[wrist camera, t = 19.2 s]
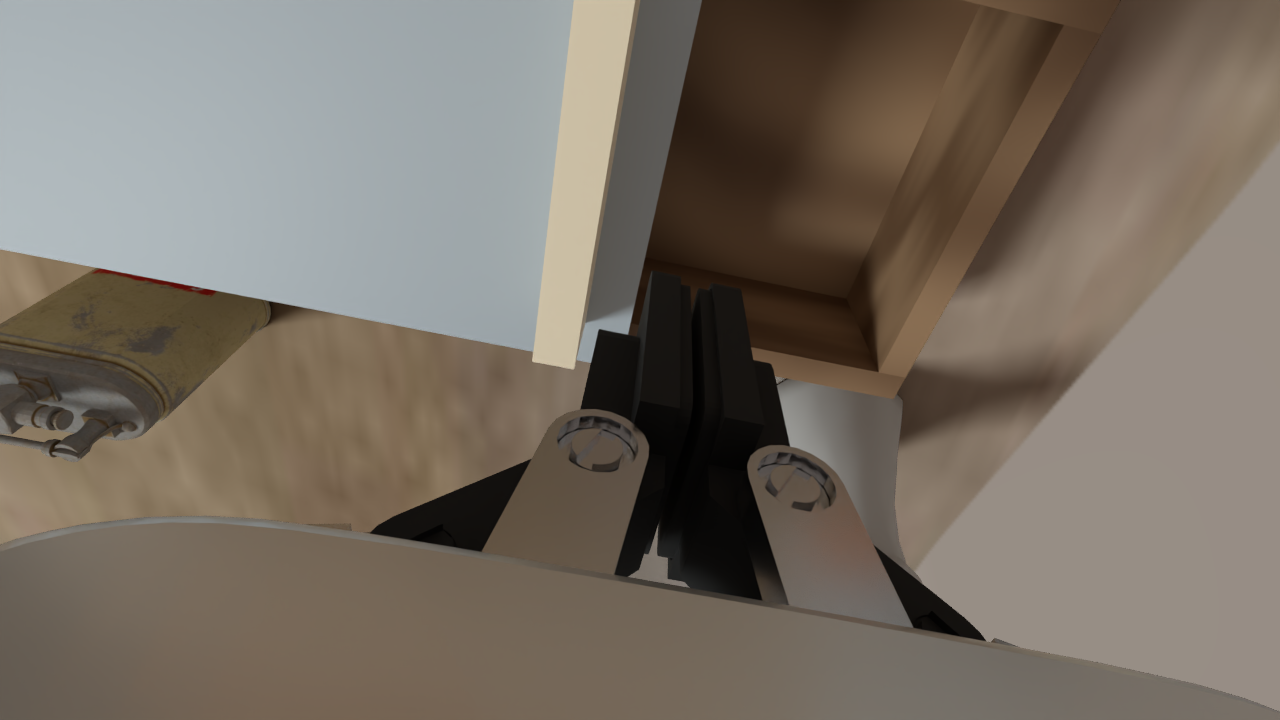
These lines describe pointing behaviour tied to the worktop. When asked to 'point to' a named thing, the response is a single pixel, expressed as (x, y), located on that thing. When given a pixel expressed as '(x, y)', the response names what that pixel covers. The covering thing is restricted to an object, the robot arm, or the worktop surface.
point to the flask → (852, 449)
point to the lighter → (114, 356)
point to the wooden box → (855, 165)
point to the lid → (352, 153)
